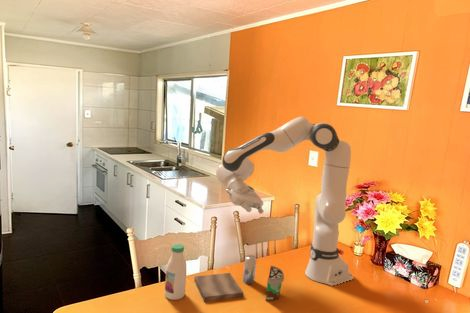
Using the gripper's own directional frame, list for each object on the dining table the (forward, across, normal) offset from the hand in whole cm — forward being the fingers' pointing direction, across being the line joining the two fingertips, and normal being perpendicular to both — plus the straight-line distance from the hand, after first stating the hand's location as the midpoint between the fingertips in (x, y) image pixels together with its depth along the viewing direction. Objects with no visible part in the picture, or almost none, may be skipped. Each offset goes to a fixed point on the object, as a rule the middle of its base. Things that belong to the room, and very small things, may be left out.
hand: (256, 211), depth 145 cm
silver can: (+16, +4, +25) cm, 30 cm away
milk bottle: (+9, -26, +38) cm, 47 cm away
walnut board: (+14, -10, +31) cm, 35 cm away
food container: (+29, +3, +19) cm, 35 cm away
